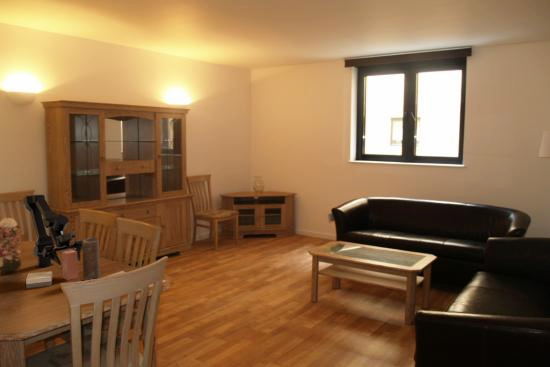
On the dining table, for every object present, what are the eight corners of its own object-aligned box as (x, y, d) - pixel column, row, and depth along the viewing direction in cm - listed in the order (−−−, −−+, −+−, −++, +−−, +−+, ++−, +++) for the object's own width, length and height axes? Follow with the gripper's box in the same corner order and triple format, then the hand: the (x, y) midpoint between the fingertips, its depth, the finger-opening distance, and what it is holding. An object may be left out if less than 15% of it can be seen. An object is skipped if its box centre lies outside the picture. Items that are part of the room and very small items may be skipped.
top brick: (63, 278, 217) (61, 251, 216) (73, 275, 221) (72, 249, 219) (67, 280, 214) (66, 253, 212) (78, 277, 218) (76, 251, 216)
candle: (103, 278, 216) (101, 237, 214) (92, 283, 209) (90, 241, 207) (90, 277, 219) (88, 236, 216) (79, 281, 212) (77, 240, 209)
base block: (28, 281, 212) (28, 273, 212) (52, 278, 216) (52, 270, 215) (26, 288, 203) (26, 279, 202) (51, 285, 207) (50, 276, 206)
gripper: (43, 230, 211) (54, 257, 205) (82, 224, 225) (94, 249, 219) (37, 244, 217) (48, 270, 211) (75, 237, 231) (87, 262, 225)
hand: (70, 262), depth 216 cm, fingers open, 9 cm apart
